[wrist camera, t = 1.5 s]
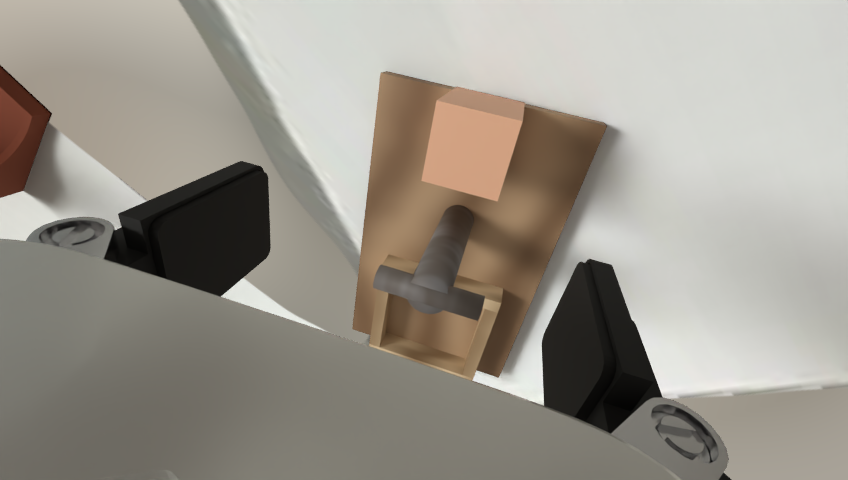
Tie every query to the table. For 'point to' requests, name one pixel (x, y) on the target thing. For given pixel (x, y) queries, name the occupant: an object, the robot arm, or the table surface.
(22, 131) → the red dustpan
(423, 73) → the table surface
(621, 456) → the robot arm
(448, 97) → the salmon orange block
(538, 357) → the table surface
